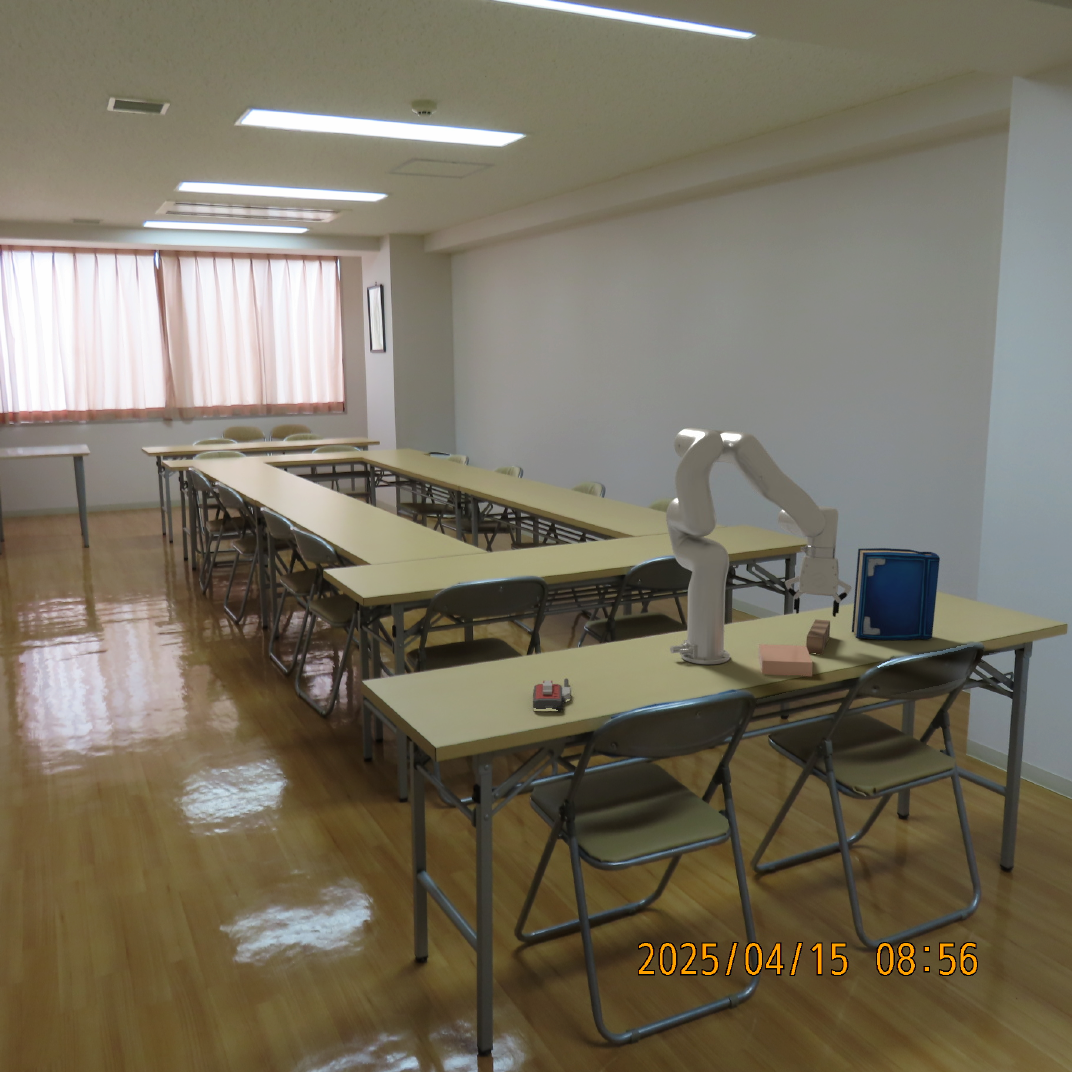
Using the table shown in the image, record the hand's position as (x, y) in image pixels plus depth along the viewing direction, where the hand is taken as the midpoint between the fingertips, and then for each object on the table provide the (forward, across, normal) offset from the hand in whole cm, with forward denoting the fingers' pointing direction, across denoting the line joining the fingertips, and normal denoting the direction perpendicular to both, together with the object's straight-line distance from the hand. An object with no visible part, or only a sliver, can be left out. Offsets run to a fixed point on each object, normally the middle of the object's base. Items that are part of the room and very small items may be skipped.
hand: (815, 614), depth 252 cm
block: (+9, +1, +1) cm, 9 cm away
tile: (+8, -8, -13) cm, 18 cm away
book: (+8, +22, +12) cm, 27 cm away
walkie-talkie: (+13, -60, -56) cm, 83 cm away
